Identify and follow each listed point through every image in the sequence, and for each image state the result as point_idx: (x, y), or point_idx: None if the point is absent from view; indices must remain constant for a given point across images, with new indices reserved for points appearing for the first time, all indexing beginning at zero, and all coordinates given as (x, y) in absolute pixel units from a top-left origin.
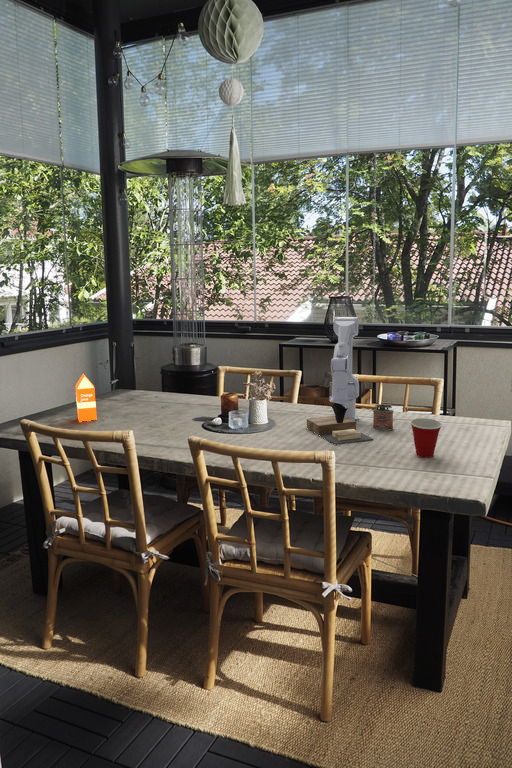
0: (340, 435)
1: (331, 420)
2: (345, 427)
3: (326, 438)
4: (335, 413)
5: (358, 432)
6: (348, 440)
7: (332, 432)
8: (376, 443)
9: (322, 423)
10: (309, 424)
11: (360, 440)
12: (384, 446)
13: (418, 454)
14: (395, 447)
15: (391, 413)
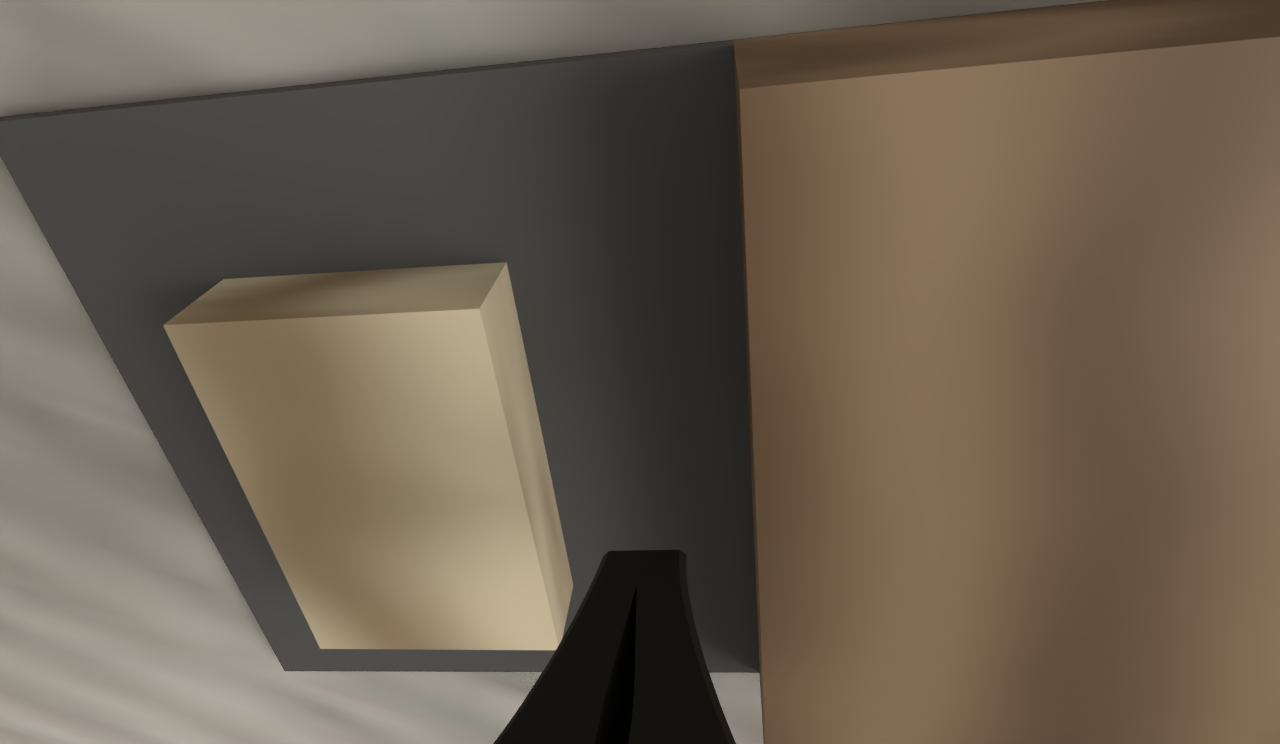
0: (181, 347)
1: (1082, 544)
2: (757, 600)
3: (365, 94)
4: (637, 735)
5: (330, 630)
6: None
7: (474, 297)
8: (153, 633)
9: (929, 270)
10: None
11: (213, 538)
12: (33, 649)
13: None
14: (9, 706)
15: None
